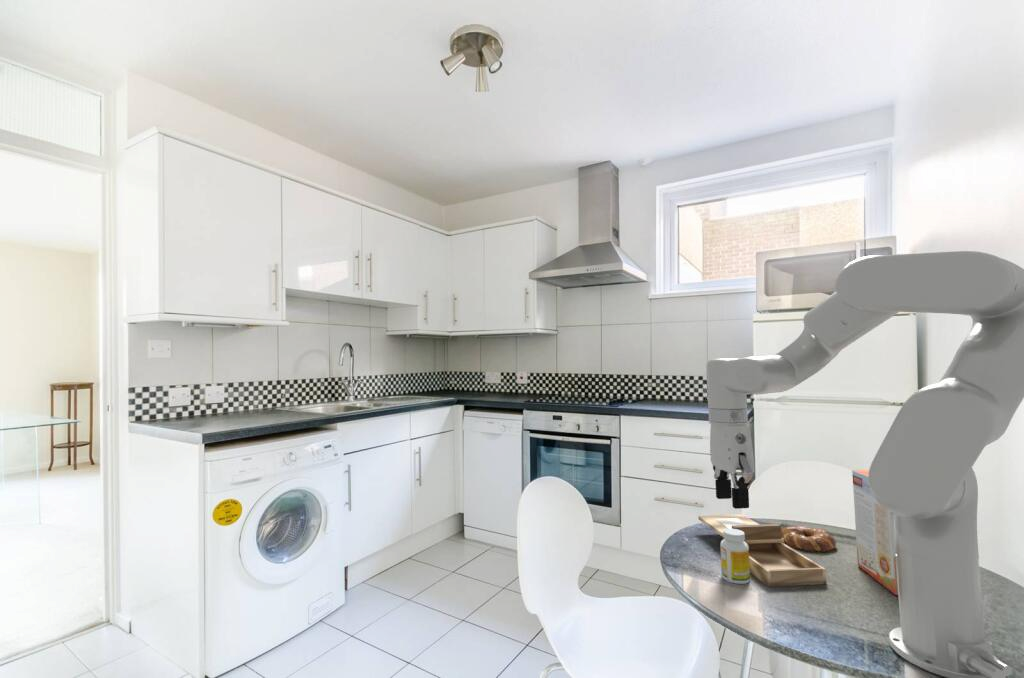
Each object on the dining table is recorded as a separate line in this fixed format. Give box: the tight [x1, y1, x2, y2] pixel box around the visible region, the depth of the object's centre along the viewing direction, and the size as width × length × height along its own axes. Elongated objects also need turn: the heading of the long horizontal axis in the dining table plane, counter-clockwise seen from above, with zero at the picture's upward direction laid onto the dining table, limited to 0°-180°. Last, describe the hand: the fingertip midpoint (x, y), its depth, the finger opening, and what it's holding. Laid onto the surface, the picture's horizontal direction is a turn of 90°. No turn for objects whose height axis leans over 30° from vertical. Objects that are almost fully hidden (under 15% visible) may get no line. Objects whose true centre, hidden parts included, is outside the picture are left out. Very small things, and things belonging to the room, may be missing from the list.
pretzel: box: [781, 525, 837, 553], centre depth 116 cm, size 12×11×4 cm
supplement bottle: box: [719, 529, 751, 585], centre depth 98 cm, size 5×5×10 cm
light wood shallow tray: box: [747, 542, 827, 588], centre depth 104 cm, size 18×12×3 cm, turn 3°
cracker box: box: [852, 469, 898, 596], centre depth 96 cm, size 14×6×21 cm, turn 168°
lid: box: [697, 514, 784, 544], centre depth 117 cm, size 18×12×4 cm, turn 3°
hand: (732, 502), depth 99 cm, fingers open, 6 cm apart
